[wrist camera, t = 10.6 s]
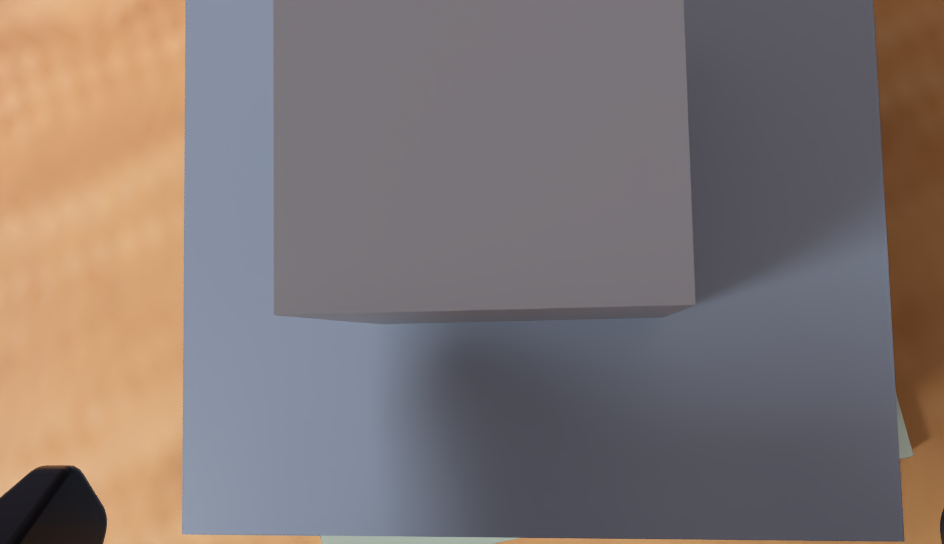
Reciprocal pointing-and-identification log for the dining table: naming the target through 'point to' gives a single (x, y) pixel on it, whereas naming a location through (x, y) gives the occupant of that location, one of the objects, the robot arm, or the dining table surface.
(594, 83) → the cover
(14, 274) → the dining table surface
